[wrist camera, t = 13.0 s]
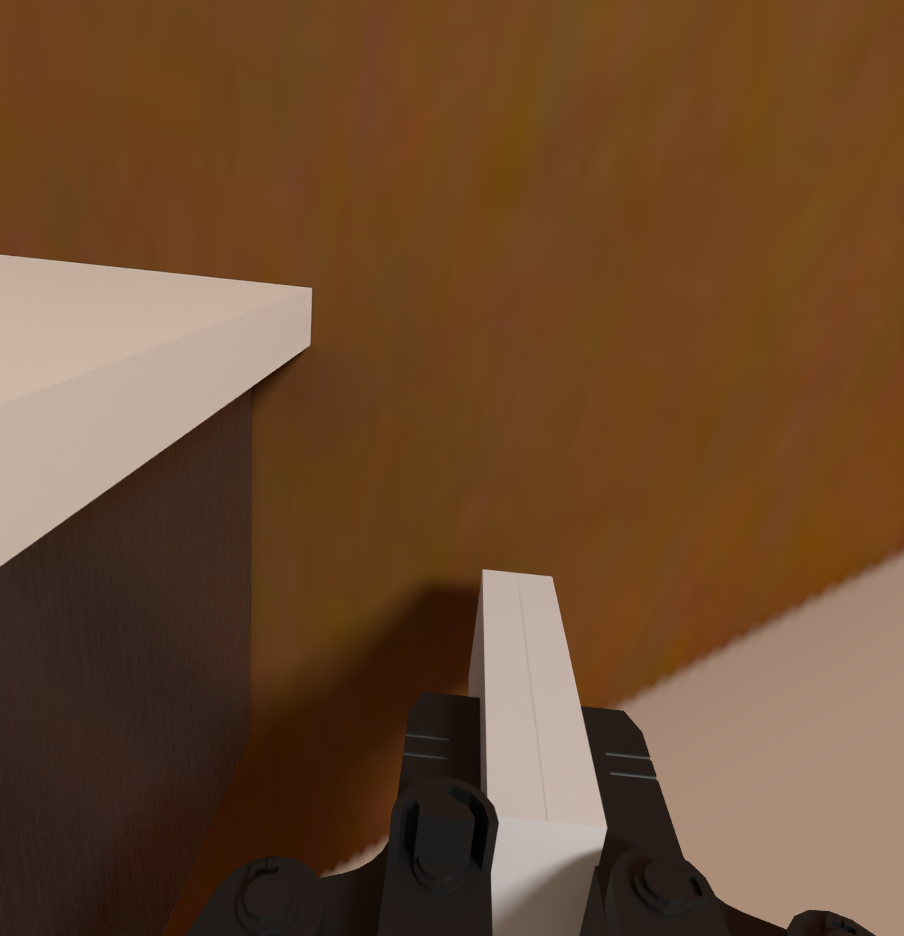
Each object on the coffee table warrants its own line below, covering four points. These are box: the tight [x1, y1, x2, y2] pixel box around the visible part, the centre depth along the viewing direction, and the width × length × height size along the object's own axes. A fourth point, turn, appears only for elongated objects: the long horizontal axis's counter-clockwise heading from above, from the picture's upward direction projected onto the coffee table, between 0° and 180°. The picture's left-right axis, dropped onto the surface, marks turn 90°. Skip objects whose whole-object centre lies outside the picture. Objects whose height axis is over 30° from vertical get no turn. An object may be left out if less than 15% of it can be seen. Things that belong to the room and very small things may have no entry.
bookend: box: [0, 387, 252, 936], centre depth 12 cm, size 2×10×10 cm, turn 174°
